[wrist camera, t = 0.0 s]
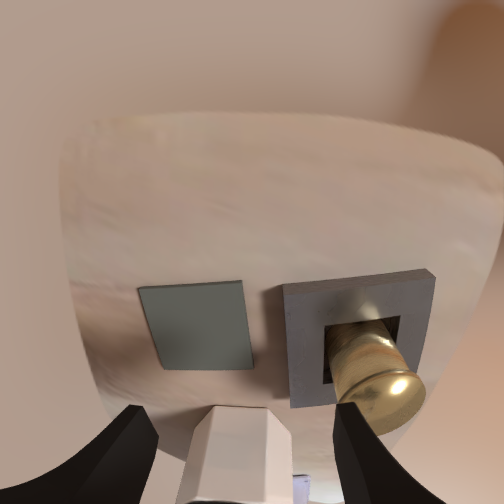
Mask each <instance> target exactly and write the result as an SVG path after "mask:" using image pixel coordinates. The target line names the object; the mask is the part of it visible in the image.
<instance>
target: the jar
mask: <svg viewBox="0 0 504 504" xmlns="http://www.w3.org/2000/svg"><path fill="white" fill-rule="evenodd" d="M175 504H293V473H292V445H291V433H290V432H289V431H288V430H287V429H286V428H285V427H284V426H283V425H282V423H281V422H280V421H279V420H278V419H277V418H276V417H275V416H274V414H273V413H272V412H271V411H270V410H269V409H268V408H247V407H229V406H214V407H213V408H212V409H211V410H210V412H209V413H208V414H207V415H206V416H205V417H204V418H203V420H202V421H201V422H200V423H199V424H198V425H197V426H196V428H195V429H194V433H193V437H192V441H191V444H190V448H189V452H188V456H187V460H186V464H185V468H184V472H183V476H182V480H181V484H180V488H179V492H178V496H177V499H176V503H175Z"/></svg>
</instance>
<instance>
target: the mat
mask: <svg viewBox="0 0 504 504" xmlns="http://www.w3.org/2000/svg"><path fill="white" fill-rule="evenodd" d="M139 292H140V296H141V300H142V303H143V307H144V310H145V313H146V317H147V320H148V323H149V326H150V330H151V333H152V336H153V339H154V342H155V345H156V348H157V351H158V354H159V357H160V360H161V362H162V365H163V368H164V370H247V369H254V362H253V355H252V349H251V342H250V335H249V328H248V321H247V314H246V307H245V300H244V292H243V285H242V280H239V281H225V282H212V283H197V284H182V285H165V286H148V287H140V288H139Z"/></svg>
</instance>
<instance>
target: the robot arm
mask: <svg viewBox="0 0 504 504" xmlns="http://www.w3.org/2000/svg"><path fill="white" fill-rule="evenodd" d="M158 439H159V436H158V434H157V432H156V430H155V429H154V427H153V425H152V423H151V421H150V419H149V417H148V415H147V413H146V412H145V410H144V408H143V406H137V405H128V406H127V407H126V408H125V409H124V410H123V411H122V412H121V413H120V414H119V415H118V416H117V417H116V418H115V419H114V420H113V421H112V422H111V423H110V424H109V425H108V426H107V427H106V428H105V429H104V430H103V431H102V432H101V433H100V434H99V435H98V436H97V437H95V438H94V439H93V440H92V441H91V442H90V443H89V444H87V445H86V446H85V447H84V448H83V449H82V450H80V451H79V452H78V453H77V454H75V455H74V456H73V457H71V458H70V459H69V460H67V461H66V462H64V463H63V464H61V465H60V466H58V467H56V468H55V469H53V470H51V471H49V472H47V473H45V474H43V475H42V476H40V477H38V478H35V479H33V480H30V481H28V482H25V483H22V484H19V485H16V486H13V487H9V488H5V489H0V504H139V503H140V499H141V496H142V493H143V491H144V488H145V485H146V482H147V479H148V476H149V473H150V471H151V468H152V465H153V462H154V459H155V454H156V450H157V444H158ZM333 444H334V453H335V460H336V465H337V469H338V474H339V478H340V482H341V487H342V491H343V496H344V500H345V504H446V503H445V502H443V501H442V500H441V499H439V498H438V497H436V496H435V495H434V494H432V493H431V492H430V491H428V490H427V489H426V488H425V487H423V486H422V485H421V484H420V483H419V482H418V481H416V480H415V479H414V478H413V477H412V476H411V475H410V474H409V473H408V472H407V471H406V470H405V469H404V468H403V467H402V466H401V465H400V464H399V463H398V462H397V460H396V459H395V458H394V457H393V456H392V455H391V454H390V452H389V451H388V450H387V449H386V447H385V446H384V445H383V443H382V442H381V441H380V440H379V438H378V437H377V436H376V434H375V433H374V431H373V430H372V429H371V427H370V426H369V424H368V423H367V421H366V420H365V418H364V416H363V415H362V413H361V411H360V410H359V408H358V406H357V404H356V403H355V402H346V403H340V404H336V413H335V421H334V429H333ZM309 489H310V476H295V477H293V504H307V503H308V499H309Z"/></svg>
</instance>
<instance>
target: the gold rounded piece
mask: <svg viewBox="0 0 504 504" xmlns="http://www.w3.org/2000/svg"><path fill="white" fill-rule="evenodd" d="M325 349H326V353H327V357H328V361H329V366H330V370H331V374H332V378H333V383H334V387H335V391H336V396H337V400H338V403H337V404H340V403H346V402H355V403H356V404H357V406H358V408H359V410H360V411H361V413H362V415H363V416H364V418H365V420H366V421H367V423H368V424H369V426H370V427H371V429H372V430H373V431H374V433H375V434H376V436H380V435H383V434H386V433H388V432H391V431H393V430H395V429H397V428H399V427H400V426H402V425H403V424H405V423H406V422H407V421H409V420H410V419H411V418H412V417H413V416H414V415H415V414H416V413H417V412H418V410H419V409H420V408H421V406H422V404H423V402H424V399H425V395H426V390H425V386H424V385H423V383H422V381H421V379H420V377H419V376H418V375H417V374H416V373H414V372H412V371H410V370H409V368H408V366H407V364H406V363H405V361H404V359H403V357H402V355H401V353H400V352H399V350H398V348H397V346H396V345H395V343H394V341H393V339H392V338H391V336H390V334H389V332H388V331H387V329H386V327H385V325H384V324H383V322H382V321H381V320H380V319H373V320H366V321H358V322H351V323H343V324H334V325H333V326H332V327H331V329H330V330H329V332H328V333H327V336H326V339H325ZM335 413H336V409H335Z"/></svg>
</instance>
